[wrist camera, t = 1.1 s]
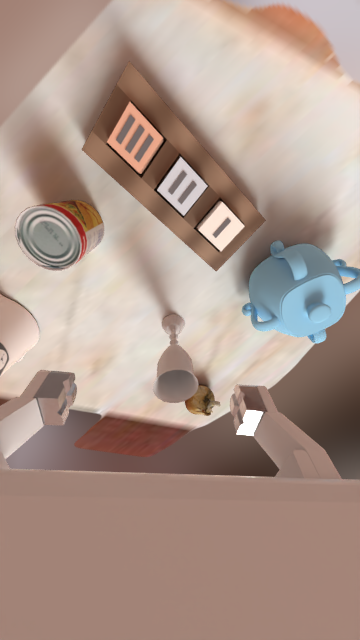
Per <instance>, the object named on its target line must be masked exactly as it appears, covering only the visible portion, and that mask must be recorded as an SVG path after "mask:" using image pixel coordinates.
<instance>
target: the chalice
mask: <svg viewBox="0 0 360 640" xmlns="http://www.w3.org/2000/svg"><path fill="white" fill-rule="evenodd" d="M184 325H185V322H184V320H183V318H182V317H180V316H179V315H176V314H172V315H168V316H166V317H165V318H164V319H163V321H162V327H163V329H164V330H165V332H166V333H167V334H168V335H170V337H169V338H170V340H171V341H170V344H171V345H170V346H169V347H168V348H167V349H166V350H165V351H164V353H163V354H162V356H161V358H160V360H159V362H158V367H157V379H156V380H155V382H154V384H153V391H154V394H155V395H156V396H157V397H158V398H159V399H160V400H162V401H164V402H169V403H178V402H182V401H185V400H187V399H189V398H191V397H192V396H193V395H194V394H195V393H196V391H197V389H198V385H199V384H198V380H197V378H196V377H195V375H194V373H193V365H192V360H191V358H190V357H189V355H188V354H187V352H186V351H185V350H184V349H183V348H182V347H180V346H179V345H177V344H178V341H177V339H178V334H180V333H181V331H182V330H183V328H184Z"/></svg>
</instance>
